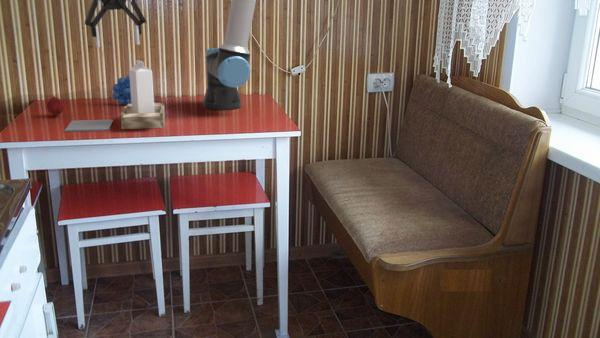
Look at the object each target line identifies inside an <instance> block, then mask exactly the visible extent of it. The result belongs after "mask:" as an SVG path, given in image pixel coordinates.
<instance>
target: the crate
mask: <svg viewBox="0 0 600 338" xmlns="http://www.w3.org/2000/svg"><path fill="white" fill-rule="evenodd" d="M154 109H155V113H136V114H132V104H128V105H124V106H123V108H122V110H121V112H120V122H121V123H120V124H121V125H120V126H121V130H129V129H130V130H132V129H135V130H136V129H137V130H138V129H163V128H165V123H166V121H165V120H166V115H165V113H166V112H165V110H166V109H165V105H164V104H163V103H162V102H154Z"/></svg>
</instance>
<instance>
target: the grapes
mask: <svg viewBox="0 0 600 338" xmlns="http://www.w3.org/2000/svg"><path fill="white" fill-rule="evenodd" d="M112 91H113V93H112V99H113V100H117V103H118V105H119V106H121V105H124V104H125V106H127V105H128V104H131V91H130V77H129V74H128V75H127V76H126V77H125V78H124V77H119V78H118V79H117V83H115V84H113V86H112ZM117 103H116V104H117Z"/></svg>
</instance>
